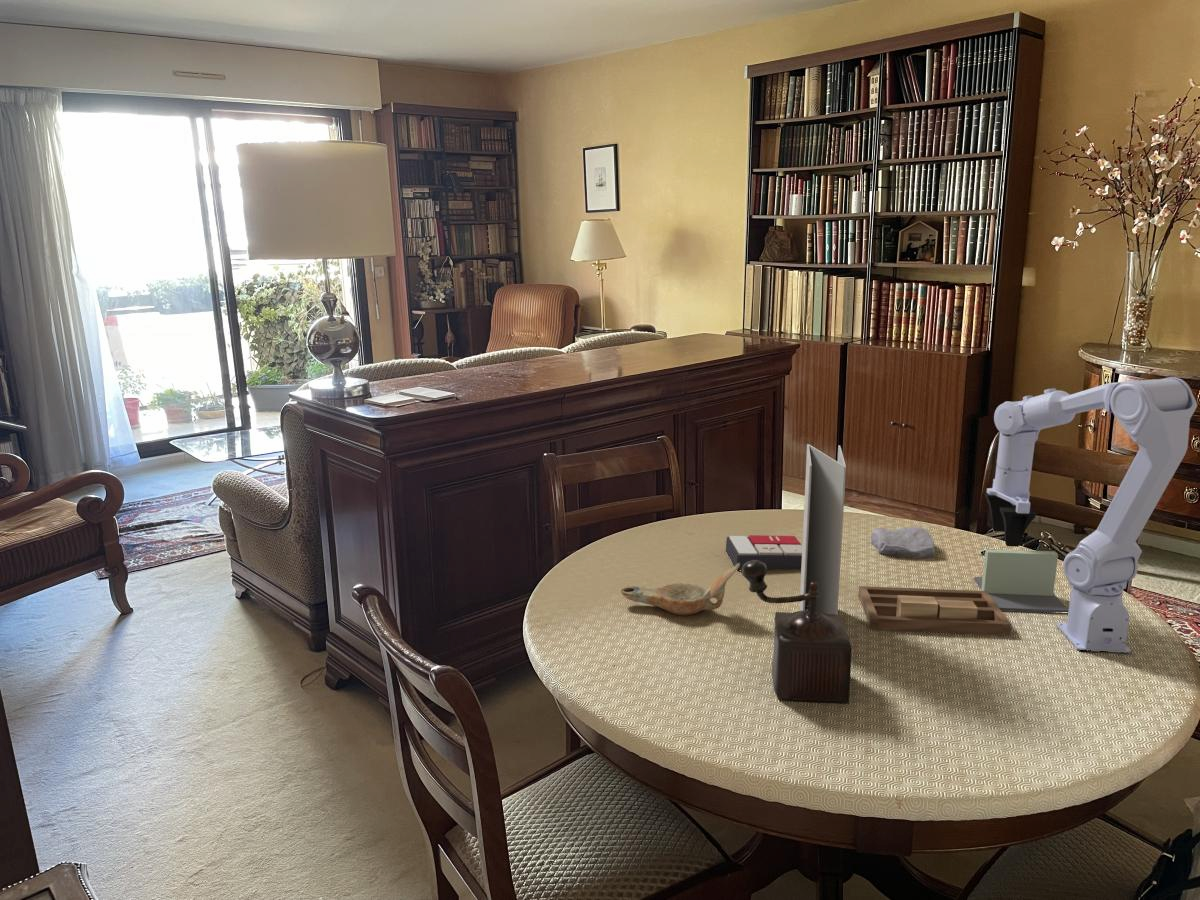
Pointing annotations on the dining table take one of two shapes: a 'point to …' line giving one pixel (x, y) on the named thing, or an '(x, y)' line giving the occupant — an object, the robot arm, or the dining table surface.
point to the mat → (1025, 602)
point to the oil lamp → (682, 595)
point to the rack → (883, 617)
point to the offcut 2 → (957, 609)
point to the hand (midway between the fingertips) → (1005, 538)
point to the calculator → (765, 551)
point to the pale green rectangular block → (1019, 572)
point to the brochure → (823, 528)
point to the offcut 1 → (917, 606)
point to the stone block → (904, 542)
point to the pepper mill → (806, 647)
